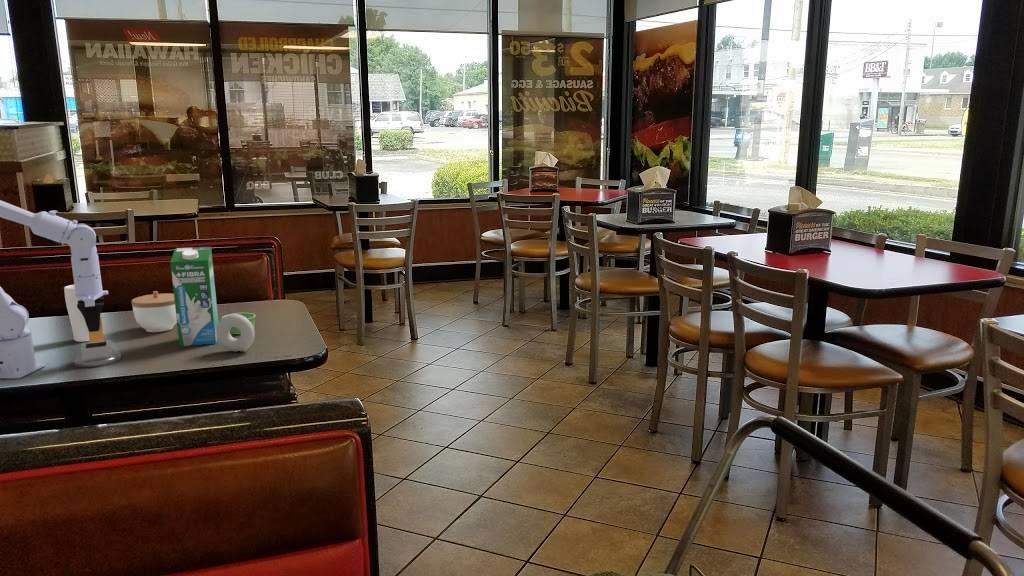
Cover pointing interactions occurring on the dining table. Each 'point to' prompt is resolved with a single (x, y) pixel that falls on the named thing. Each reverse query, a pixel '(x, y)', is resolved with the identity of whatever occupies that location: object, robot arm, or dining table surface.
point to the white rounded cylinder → (75, 315)
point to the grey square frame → (97, 354)
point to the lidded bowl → (155, 312)
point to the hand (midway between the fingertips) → (94, 329)
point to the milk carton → (194, 295)
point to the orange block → (97, 334)
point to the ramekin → (249, 316)
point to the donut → (225, 336)
